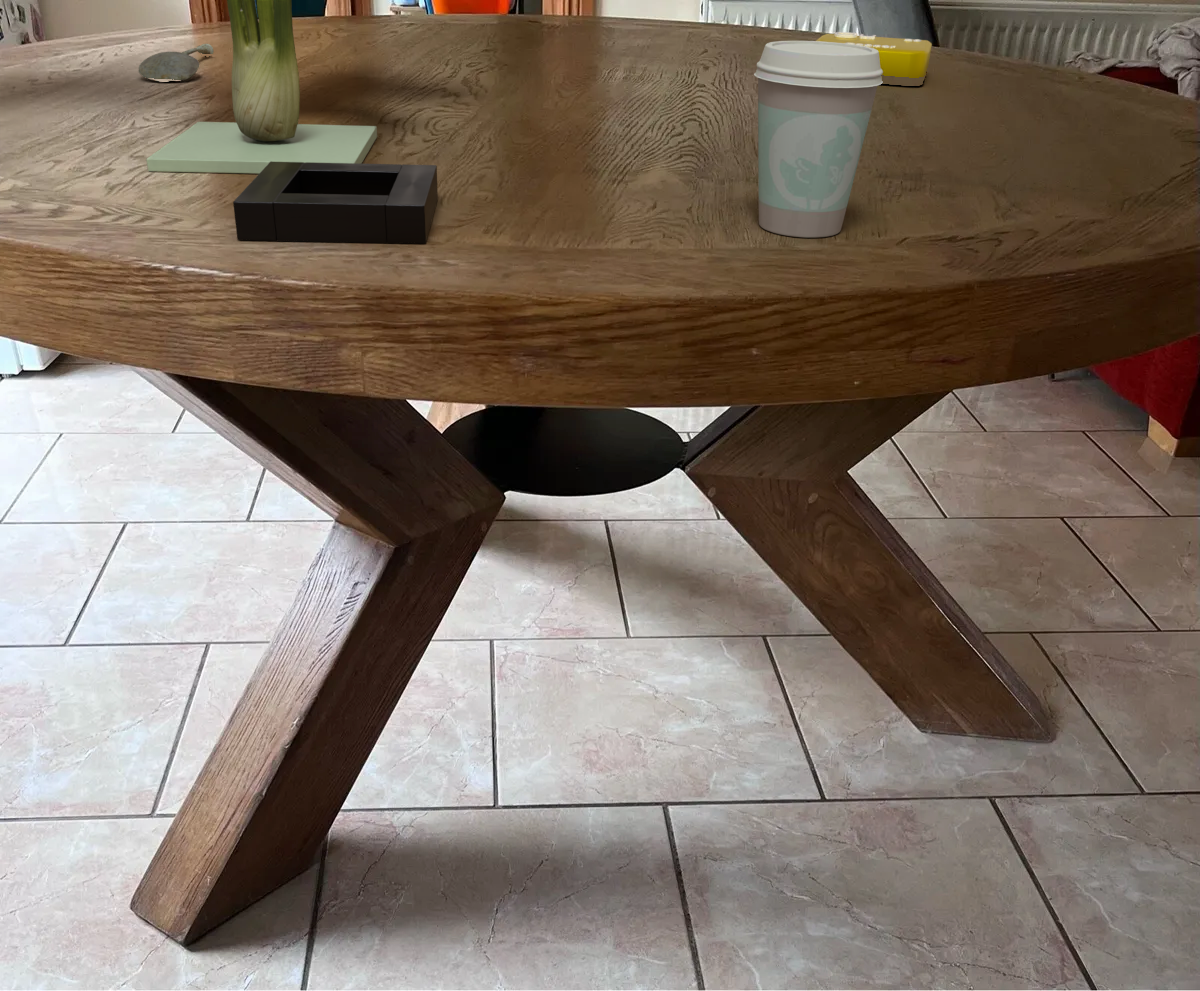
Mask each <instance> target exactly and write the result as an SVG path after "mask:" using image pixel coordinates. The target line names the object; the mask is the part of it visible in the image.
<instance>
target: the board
mask: <svg viewBox="0 0 1200 991" xmlns="http://www.w3.org/2000/svg"><path fill="white" fill-rule="evenodd" d="M377 138H378V128H377V126H376V125H349V124H348V125H345V124H344V125H343V124H306V123H305V124H304V123H303V124H302V123H298V125H297V128H296V132H295V136H294V137H293V138H290V139H284V140H279V141H261V140H257V139H252V138H249V137H247V136H246V135H244V134H243V133H242V132H241V131H240V129H239V127H238V125H237V123H236V122H229V121H228V122H226V121H225V122H223V121H196V122H195V123H194V124H193V125H191V126H190V127H189V128H187V129H186V130H184V131H183V132H182V133H180V134H179V135H178V136H176V137H175V138H173V139H172V140H171V141H169V142H167V144H165V145H163V146H162V147H160V148H159V149H158V150H157V151H155V152H154V153H152V154H151V155H150V156H148V157H147V158H146V159H145V160H146V168H147V171H148V172H158V173H159V172H160V173H199V174H200V173H203V174H205V173H206V174H207V173H208V174H209V173H210V174H213V173H214V174H248V175H249V174H251V175H252V174H253V175H259V173H260V172H261V171H262V170H263V169H264V168H265V167H266V166H267V165H268V164H269V163H270V162H304V163H305V162H314V163H358V164H363V162H364V160H365V158H366V156H367V155H368V153H369V151H370V150H371V148H372V146H373V145H374V143H375V142H376V139H377Z"/></svg>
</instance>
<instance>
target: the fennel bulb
mask: <svg viewBox="0 0 1200 991" xmlns="http://www.w3.org/2000/svg"><path fill="white" fill-rule="evenodd" d="M226 3H227V10H228V15H229V23H230V30H231V40H232V65H231V95H232V96H231V101H232V112H233V116H234V120H235V123H237V125H238V127H239V129H240V131H241V132H242V133H243V134H244V135H246V136H247V137H249V138H252V139H257V140H261V141H279V140H284V139H290V138H293V137H294V136H295V132H296V128H297V125H298V124H299V119H300V118H299V117H300V104H301V101H300V100H301V99H300V98H301V90H300V72H299V65H298V58H297V53H296V44H295V37H294V26H293V12H292V11H293V10H292V8H293V7H292V0H226Z"/></svg>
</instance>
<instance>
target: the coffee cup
mask: <svg viewBox="0 0 1200 991" xmlns="http://www.w3.org/2000/svg"><path fill="white" fill-rule="evenodd" d="M882 74H883V71H882V69H881V68H880V60H879V51H878V50H876V49H874V48H870V47H866V46H860V45H854V44H846V43H835V42H822V41H816V40H778V41H771V42H768V43H766V44H764V48H763V51H762V53H761V57H760V59H759V60H758V61H757V63H756V70H755V72H754V74H753V75H754V77H755V78H757V148H758V150H757V155H758V156H757V159H758V160H757V164H758V166H757V168H758V170H757V172H758V174H757V175H758V177H757V178H758V225H759V226H760V227H761V228H762V229H763V230H765V231H767V232H769V233H772V234H775V235H780V236H785V237H793V238H802V239H803V238H805V239H806V238H807V239H818V238H826V237H828V238H829V237H832V236H835V235H837V234H839V233H841V231H842V228H843V223H844V219H845V217H846V216H845V215H846V212H847V207H848V204H849V202H850V201H849V200H850V196H851V193H852V188H853V185H854V181H855V177H856V173H857V169H858V164H859V161H860V157H861V154H862V153H861V152H862V149H863V145H864V141H865V137H866V133H867V129H868V125H869V121H870V117H871V114H872V110H873V105H874V101H875V98H876V92H877V89H878V86H882V85H881V84H882V83H883V81H882V76H881V75H882Z"/></svg>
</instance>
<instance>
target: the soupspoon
mask: <svg viewBox="0 0 1200 991" xmlns="http://www.w3.org/2000/svg"><path fill="white" fill-rule="evenodd" d="M197 52H198V53H199V54H201V53H202V54H213V55H214V53H215V51H214V47H213V46H212V45H211V44H210V43H202V44H201V45H197V46H196V47H193V48H190V49H187V50H184V51H182V52H180V51H161V52H158V53H155V54H153V55H151V56H149V57H147V58H145V59H144V60H143V61H141V62H140V63H139V67H138V69H137V70H138V73H139V74H140V75H141V76H142V77H143V78H145V77H146V78H154V79H172V80H173V79H174V80H183V81H186V80H188V79H190V78H192V77H193V76H194V75H195V74H196V73H197V72H198V70H199V68H200V62H199V60H198V59H197V58H196V57H193V56H192V54H194V53H197ZM146 78H145V79H146Z"/></svg>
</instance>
